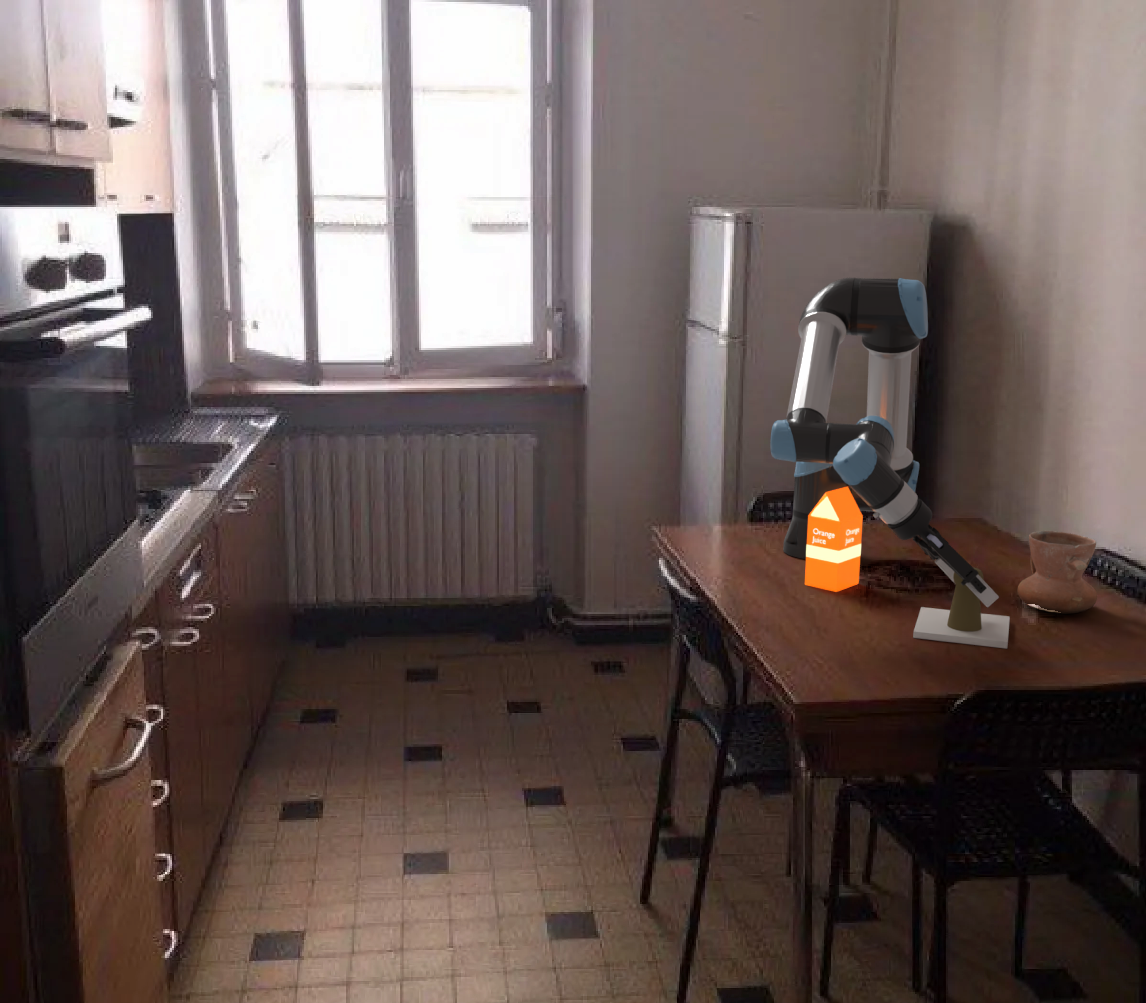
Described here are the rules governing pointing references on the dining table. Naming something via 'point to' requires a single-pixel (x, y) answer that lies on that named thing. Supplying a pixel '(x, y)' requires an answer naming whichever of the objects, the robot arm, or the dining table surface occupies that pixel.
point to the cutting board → (935, 628)
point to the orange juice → (834, 542)
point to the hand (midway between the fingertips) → (977, 591)
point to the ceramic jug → (1059, 572)
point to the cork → (965, 607)
